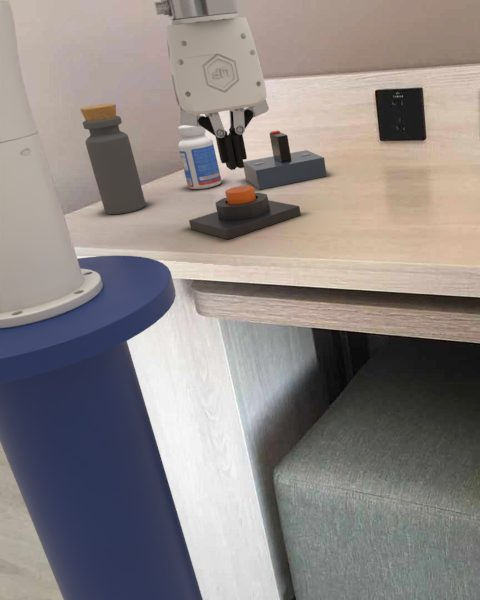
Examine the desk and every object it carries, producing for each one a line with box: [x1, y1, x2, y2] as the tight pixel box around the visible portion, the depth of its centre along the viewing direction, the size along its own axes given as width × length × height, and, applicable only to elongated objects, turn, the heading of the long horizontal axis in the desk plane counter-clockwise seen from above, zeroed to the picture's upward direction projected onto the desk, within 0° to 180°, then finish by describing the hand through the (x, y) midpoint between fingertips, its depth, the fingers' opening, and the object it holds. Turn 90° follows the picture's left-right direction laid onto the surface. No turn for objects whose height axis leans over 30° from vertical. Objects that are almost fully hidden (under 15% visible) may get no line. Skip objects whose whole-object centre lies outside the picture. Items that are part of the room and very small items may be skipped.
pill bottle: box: [177, 124, 222, 190], centre depth 109 cm, size 6×5×10 cm
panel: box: [243, 149, 328, 191], centre depth 109 cm, size 11×9×3 cm
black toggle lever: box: [269, 129, 291, 162], centre depth 108 cm, size 5×2×4 cm, turn 25°
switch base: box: [188, 192, 301, 240], centre depth 87 cm, size 11×9×3 cm
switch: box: [224, 185, 256, 204], centre depth 86 cm, size 4×4×2 cm
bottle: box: [79, 102, 147, 215], centre depth 99 cm, size 6×6×15 cm
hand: (235, 166), depth 85 cm, fingers closed
